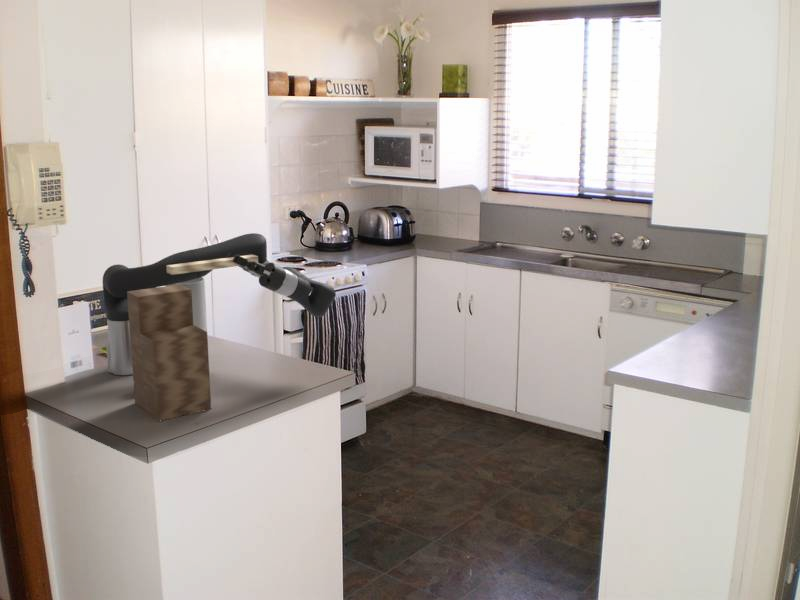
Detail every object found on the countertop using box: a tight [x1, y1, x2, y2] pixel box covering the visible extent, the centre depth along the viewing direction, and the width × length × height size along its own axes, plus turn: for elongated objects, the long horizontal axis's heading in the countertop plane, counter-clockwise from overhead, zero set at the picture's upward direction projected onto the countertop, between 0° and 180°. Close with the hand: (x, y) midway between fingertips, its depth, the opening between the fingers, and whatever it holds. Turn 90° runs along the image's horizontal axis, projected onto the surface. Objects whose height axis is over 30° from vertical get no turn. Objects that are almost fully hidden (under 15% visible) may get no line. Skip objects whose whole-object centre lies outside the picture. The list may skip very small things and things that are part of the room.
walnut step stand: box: [127, 284, 212, 422], centre depth 232 cm, size 15×17×32 cm
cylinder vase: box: [166, 276, 208, 333], centre depth 281 cm, size 12×12×25 cm
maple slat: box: [166, 255, 258, 275], centre depth 237 cm, size 26×4×2 cm, turn 128°
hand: (231, 257), depth 240 cm, fingers closed on maple slat, 3 cm apart
